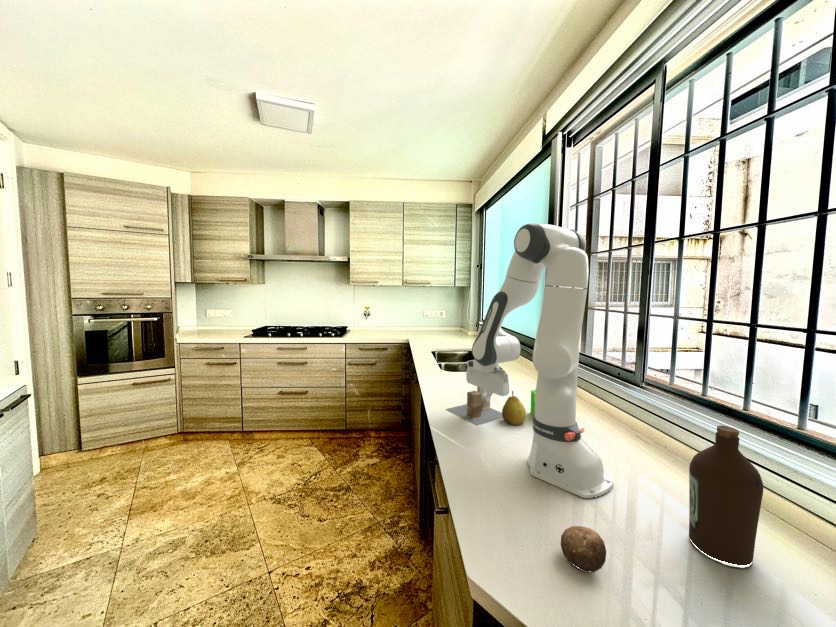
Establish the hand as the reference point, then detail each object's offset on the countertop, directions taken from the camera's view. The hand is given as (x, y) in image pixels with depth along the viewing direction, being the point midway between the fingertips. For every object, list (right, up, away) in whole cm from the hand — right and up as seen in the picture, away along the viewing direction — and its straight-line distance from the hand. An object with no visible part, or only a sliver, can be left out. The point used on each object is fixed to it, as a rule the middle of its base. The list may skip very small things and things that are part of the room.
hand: (486, 400), depth 126 cm
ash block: (+2, -8, +16) cm, 18 cm away
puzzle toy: (+26, -9, +6) cm, 28 cm away
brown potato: (+5, -14, -64) cm, 65 cm away
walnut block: (-4, -8, +6) cm, 11 cm away
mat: (-2, -8, +11) cm, 14 cm away
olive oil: (+34, -14, -61) cm, 71 cm away
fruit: (+11, -9, +1) cm, 15 cm away
